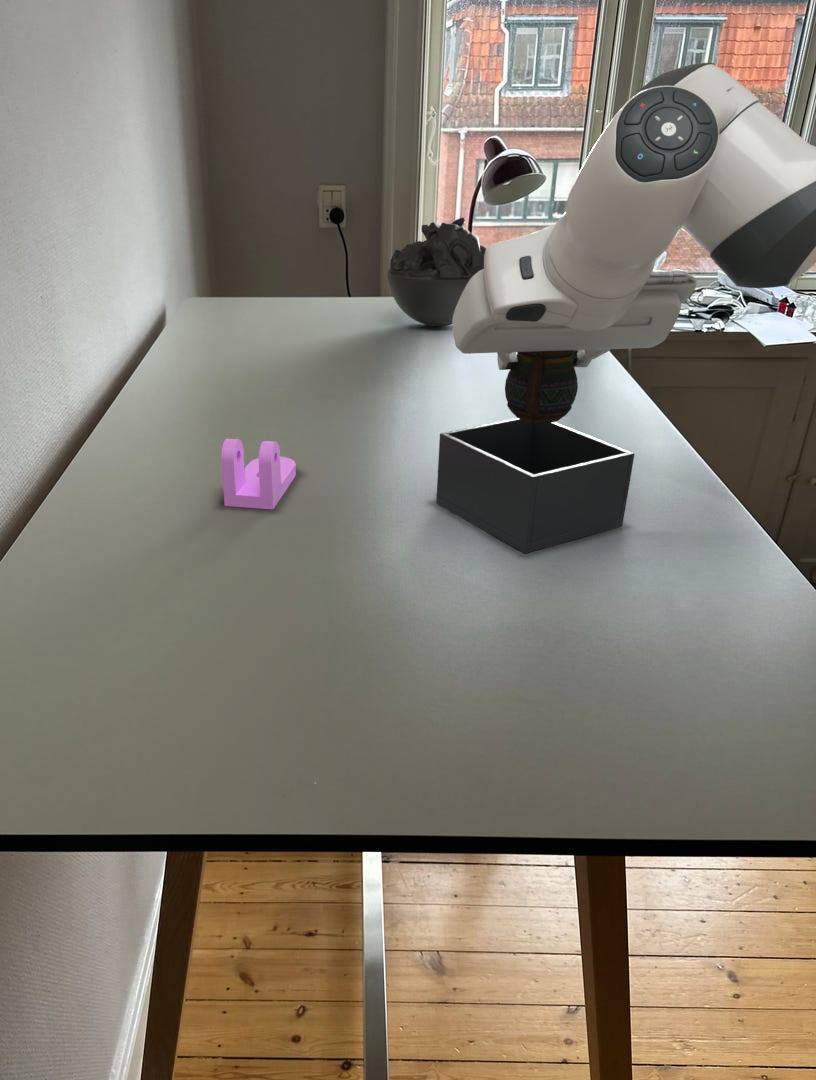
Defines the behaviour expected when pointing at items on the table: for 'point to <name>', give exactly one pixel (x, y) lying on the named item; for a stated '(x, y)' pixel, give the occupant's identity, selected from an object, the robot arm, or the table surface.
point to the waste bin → (533, 482)
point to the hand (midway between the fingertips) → (541, 362)
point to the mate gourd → (542, 386)
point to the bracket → (255, 475)
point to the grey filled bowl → (435, 272)
